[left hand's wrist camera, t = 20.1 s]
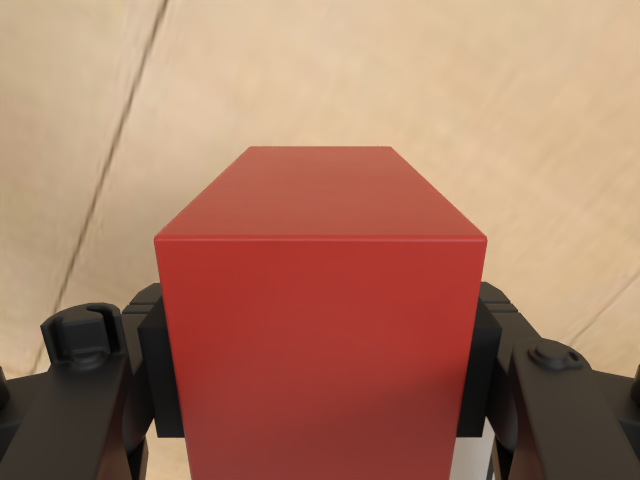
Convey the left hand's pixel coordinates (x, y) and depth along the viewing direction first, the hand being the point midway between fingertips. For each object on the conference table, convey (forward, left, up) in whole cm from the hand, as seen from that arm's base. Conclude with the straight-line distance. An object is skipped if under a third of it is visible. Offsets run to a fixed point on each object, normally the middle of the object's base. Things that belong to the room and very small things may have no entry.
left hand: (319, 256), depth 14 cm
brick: (0, 0, -3) cm, 3 cm away
